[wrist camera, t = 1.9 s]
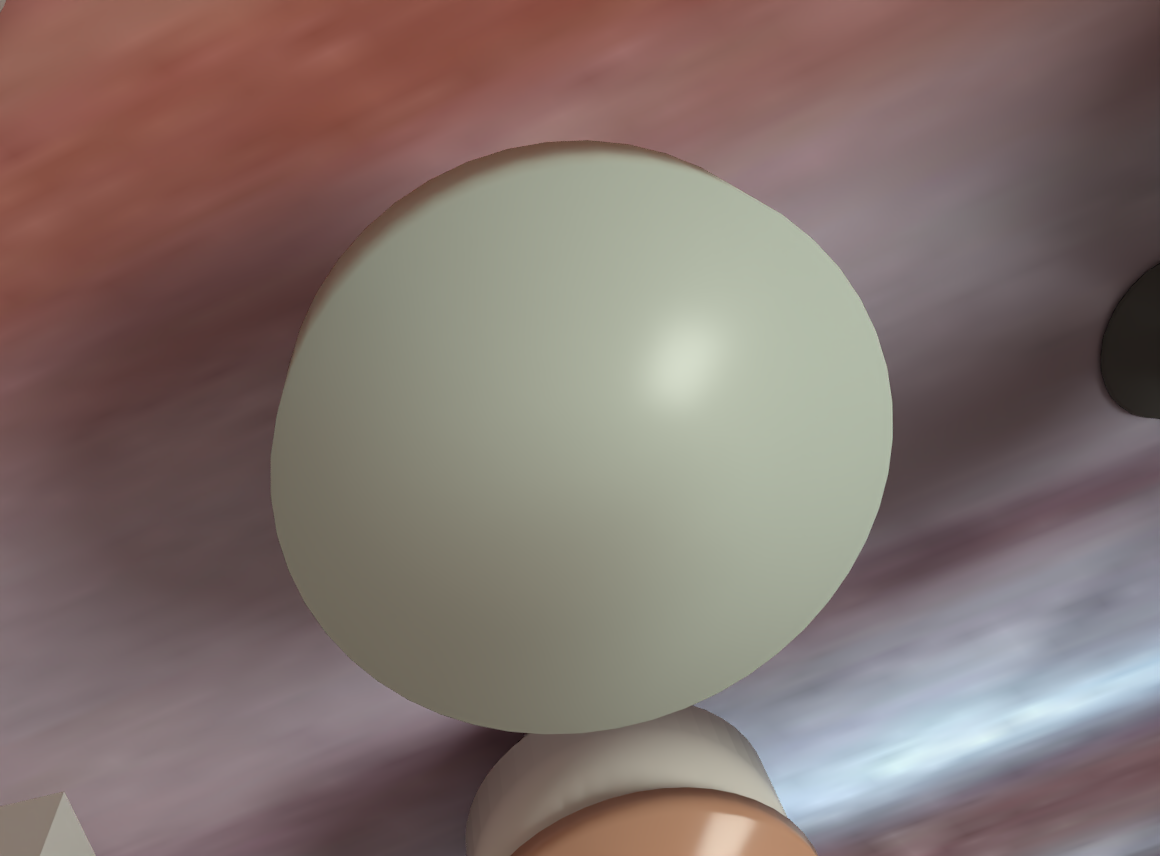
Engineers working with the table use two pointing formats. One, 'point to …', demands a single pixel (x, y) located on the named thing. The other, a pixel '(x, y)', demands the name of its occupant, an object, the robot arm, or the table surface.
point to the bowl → (633, 795)
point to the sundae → (1135, 348)
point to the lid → (577, 439)
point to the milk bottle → (2, 4)
